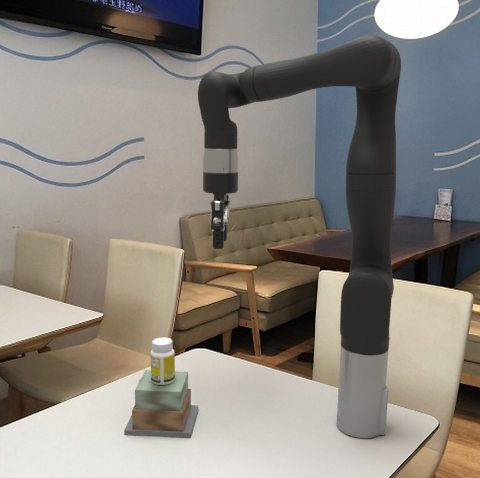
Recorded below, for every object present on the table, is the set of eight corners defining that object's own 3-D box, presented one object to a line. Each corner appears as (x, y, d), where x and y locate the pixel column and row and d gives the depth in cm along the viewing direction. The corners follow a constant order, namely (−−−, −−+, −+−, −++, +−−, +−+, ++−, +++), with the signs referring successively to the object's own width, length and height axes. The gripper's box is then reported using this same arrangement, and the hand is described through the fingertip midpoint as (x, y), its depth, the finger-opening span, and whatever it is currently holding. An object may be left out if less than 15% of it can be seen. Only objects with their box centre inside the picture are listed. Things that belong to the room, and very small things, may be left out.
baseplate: (198, 409, 116) (198, 405, 116) (190, 437, 105) (190, 433, 105) (138, 407, 117) (137, 402, 116) (124, 434, 106) (124, 430, 106)
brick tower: (190, 406, 115) (190, 370, 114) (183, 431, 106) (183, 393, 104) (144, 404, 116) (143, 369, 114) (132, 429, 106) (131, 391, 105)
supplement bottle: (175, 375, 112) (175, 336, 110) (174, 385, 107) (173, 345, 105) (152, 375, 111) (151, 336, 110) (149, 385, 107) (148, 345, 105)
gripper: (236, 172, 109) (235, 251, 112) (240, 168, 123) (239, 238, 126) (198, 172, 109) (198, 251, 112) (207, 167, 123) (206, 238, 126)
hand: (220, 244), depth 119 cm, fingers open, 8 cm apart
